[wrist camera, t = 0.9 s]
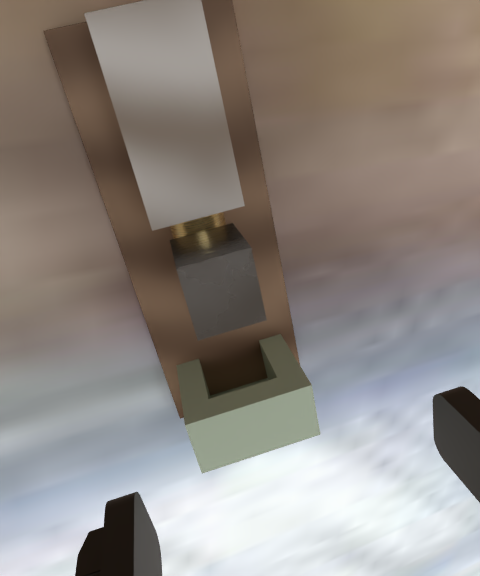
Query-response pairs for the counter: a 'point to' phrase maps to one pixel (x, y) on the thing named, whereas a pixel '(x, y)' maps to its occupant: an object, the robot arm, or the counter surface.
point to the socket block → (248, 410)
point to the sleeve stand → (175, 164)
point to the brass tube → (216, 275)
